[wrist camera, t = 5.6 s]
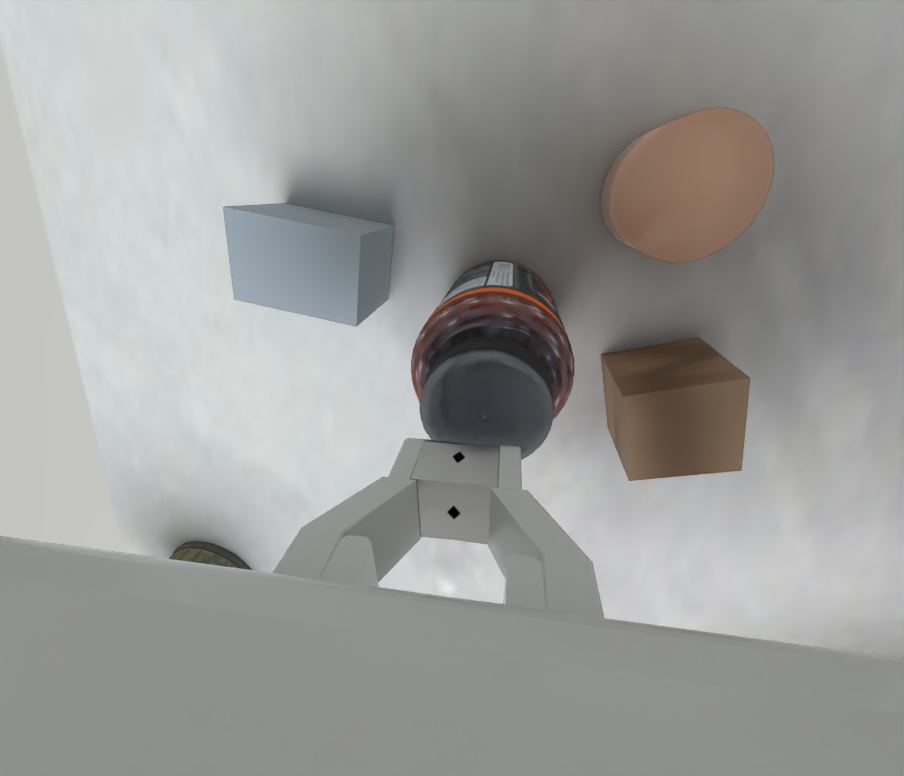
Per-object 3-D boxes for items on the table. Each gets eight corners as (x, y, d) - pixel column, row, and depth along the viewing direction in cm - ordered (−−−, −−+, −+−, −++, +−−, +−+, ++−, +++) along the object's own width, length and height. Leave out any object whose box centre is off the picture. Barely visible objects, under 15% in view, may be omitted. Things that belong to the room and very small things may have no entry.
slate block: (394, 225, 20) (360, 235, 15) (388, 298, 22) (356, 326, 17) (287, 203, 20) (222, 206, 15) (290, 277, 22) (234, 299, 17)
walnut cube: (698, 337, 20) (749, 378, 16) (696, 415, 22) (741, 470, 18) (600, 354, 21) (622, 396, 17) (607, 426, 23) (629, 480, 19)
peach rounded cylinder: (736, 124, 16) (799, 105, 12) (698, 249, 18) (743, 263, 14) (612, 127, 16) (638, 109, 13) (592, 247, 19) (609, 261, 15)
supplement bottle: (566, 341, 21) (615, 472, 11) (470, 374, 23) (437, 512, 13) (532, 237, 19) (555, 283, 9) (428, 283, 21) (350, 363, 11)
